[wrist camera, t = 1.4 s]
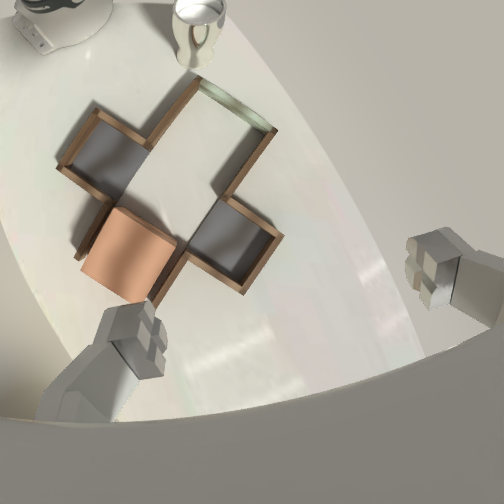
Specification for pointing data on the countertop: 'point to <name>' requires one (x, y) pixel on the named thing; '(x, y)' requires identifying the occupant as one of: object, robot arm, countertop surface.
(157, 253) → the terracotta block
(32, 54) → the countertop surface
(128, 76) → the countertop surface
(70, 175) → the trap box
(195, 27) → the beer glass
